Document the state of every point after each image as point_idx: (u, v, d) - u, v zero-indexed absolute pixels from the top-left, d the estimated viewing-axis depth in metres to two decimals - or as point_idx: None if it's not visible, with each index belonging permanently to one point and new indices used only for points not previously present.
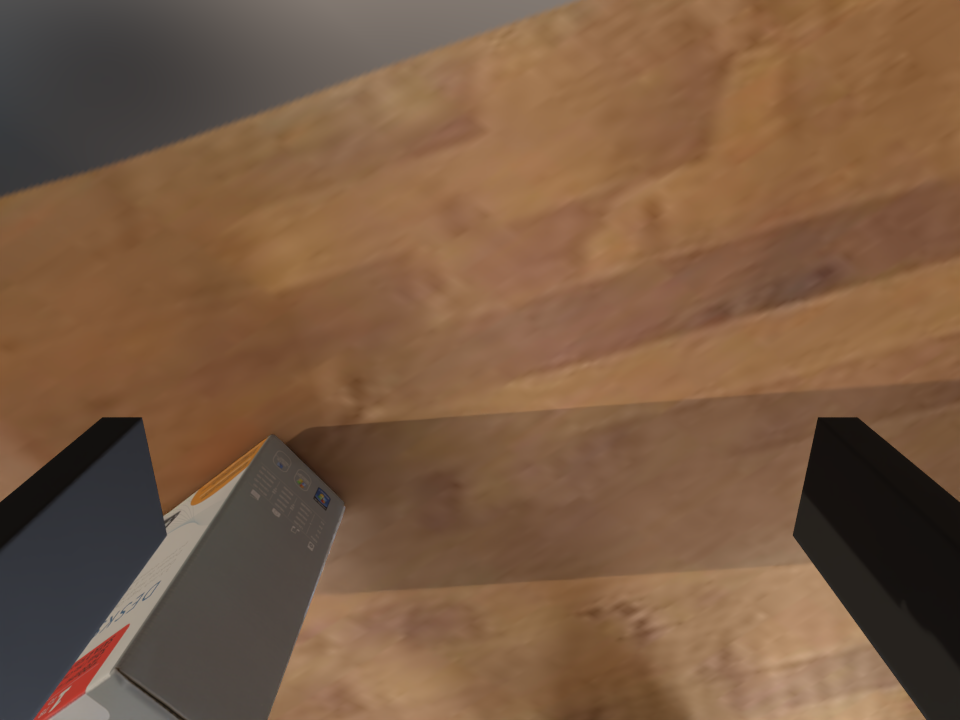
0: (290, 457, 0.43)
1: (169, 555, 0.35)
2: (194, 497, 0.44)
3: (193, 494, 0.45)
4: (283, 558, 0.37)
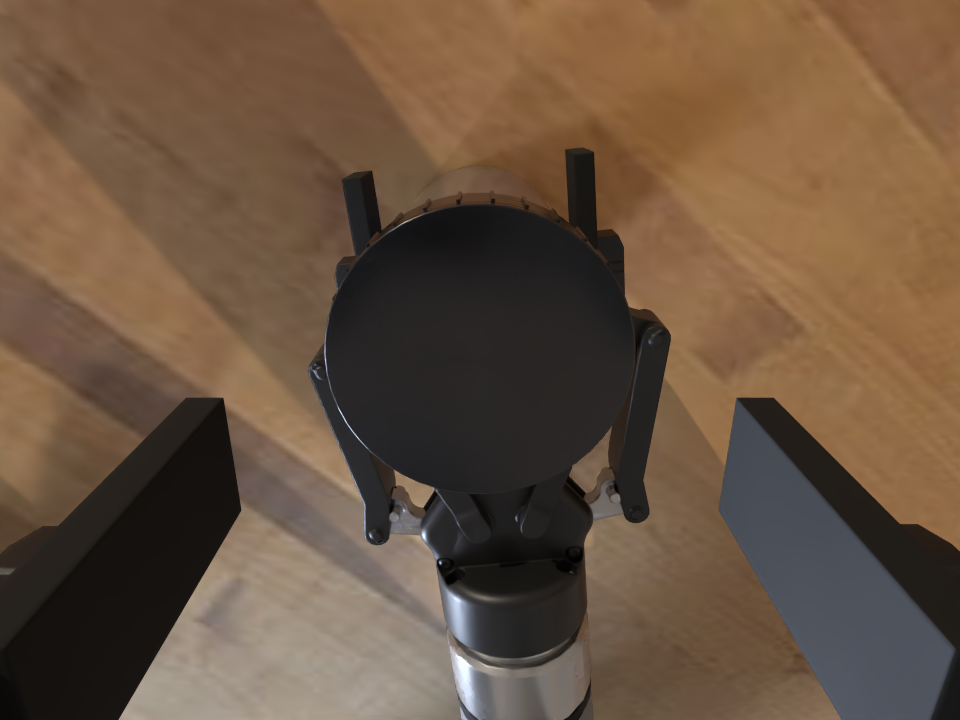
0: None
1: None
2: None
3: None
4: None
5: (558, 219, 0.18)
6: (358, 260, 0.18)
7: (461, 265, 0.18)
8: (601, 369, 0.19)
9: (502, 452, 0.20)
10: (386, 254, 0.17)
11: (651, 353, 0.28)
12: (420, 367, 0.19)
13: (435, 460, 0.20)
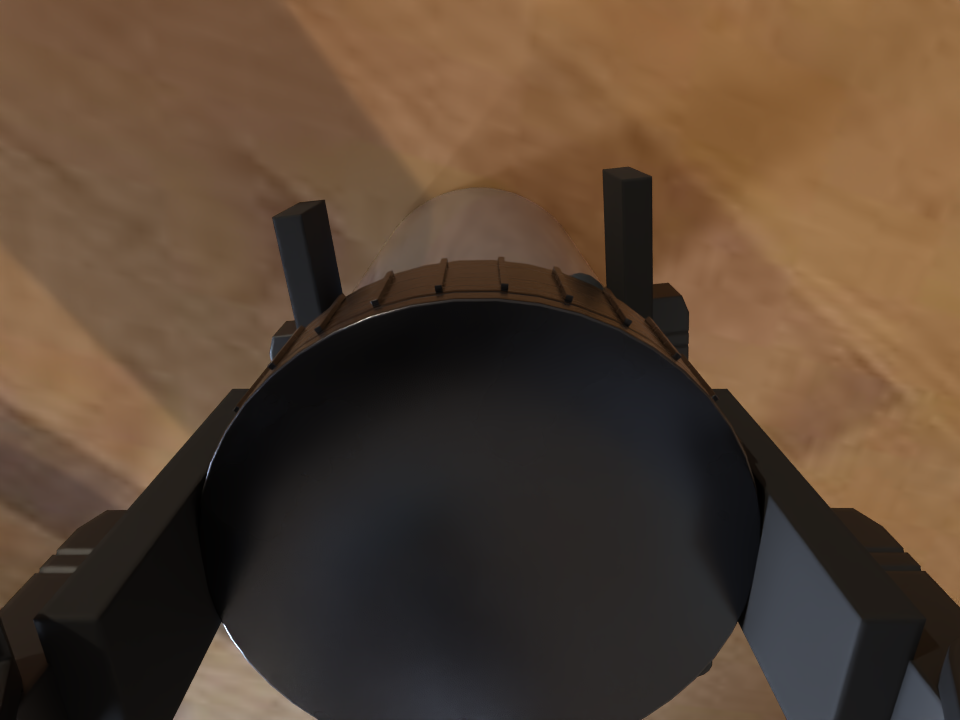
0: None
1: None
2: None
3: None
4: None
5: (627, 321, 0.09)
6: (250, 399, 0.09)
7: (444, 408, 0.09)
8: (697, 578, 0.10)
9: (518, 703, 0.11)
10: (302, 389, 0.09)
11: None
12: (373, 576, 0.10)
13: (403, 715, 0.12)
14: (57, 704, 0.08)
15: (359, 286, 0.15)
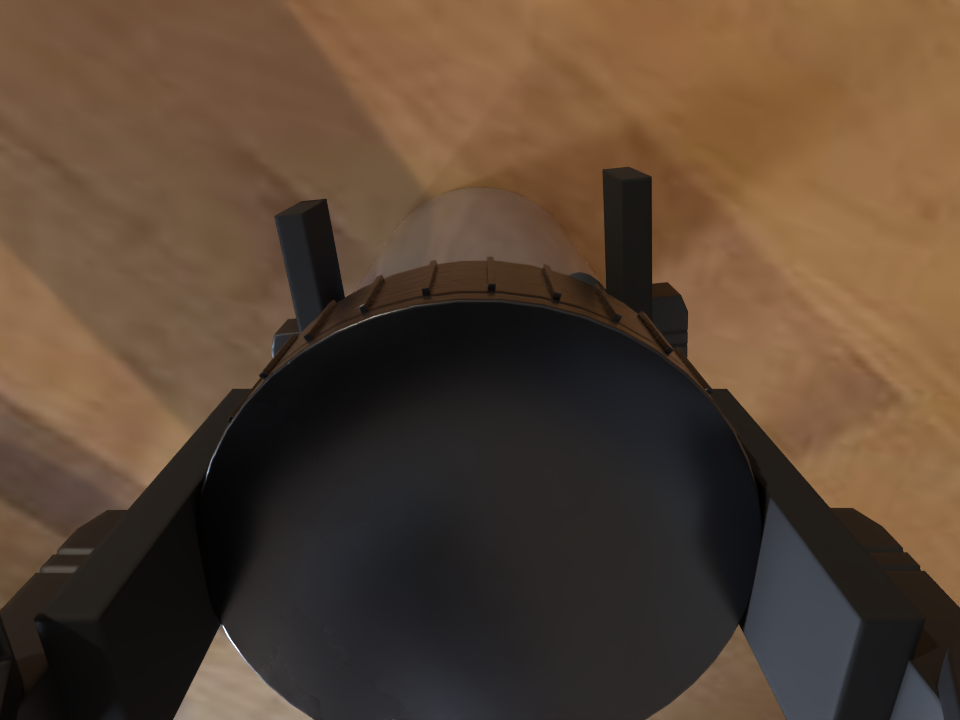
0: None
1: None
2: None
3: None
4: None
5: (261, 376, 0.10)
6: None
7: (299, 554, 0.10)
8: (563, 377, 0.09)
9: (669, 576, 0.10)
10: (260, 645, 0.11)
11: None
12: (461, 651, 0.11)
13: (640, 672, 0.11)
14: (58, 704, 0.08)
15: (361, 284, 0.15)
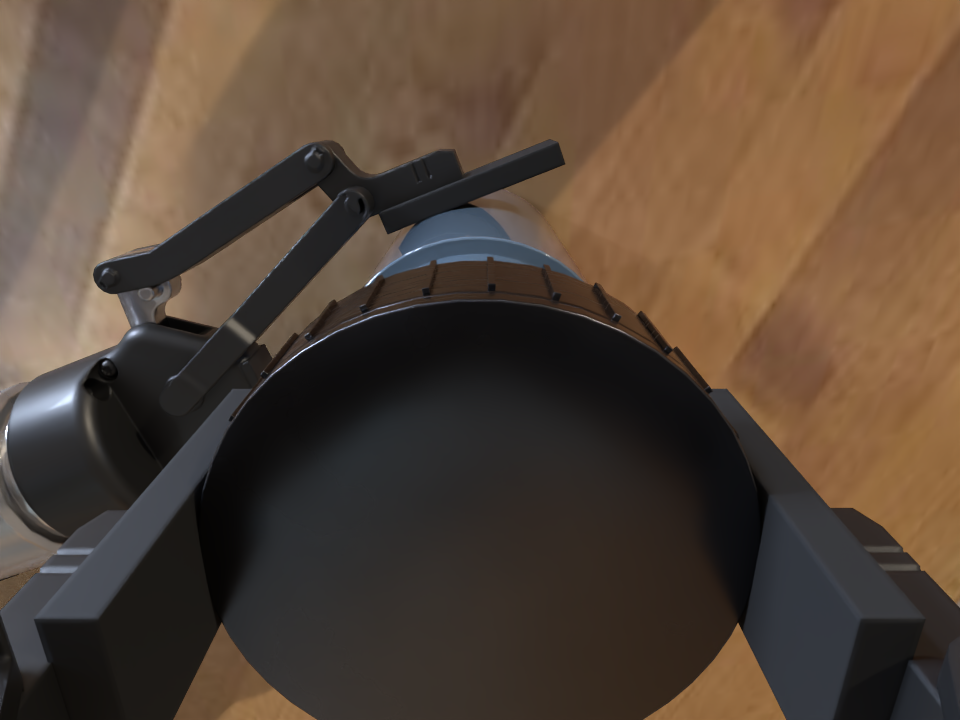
0: None
1: None
2: None
3: None
4: None
5: (261, 375, 0.10)
6: None
7: (300, 553, 0.10)
8: (562, 377, 0.09)
9: (668, 575, 0.10)
10: (261, 644, 0.11)
11: None
12: (461, 649, 0.11)
13: (639, 671, 0.11)
14: (58, 704, 0.08)
15: (543, 235, 0.21)
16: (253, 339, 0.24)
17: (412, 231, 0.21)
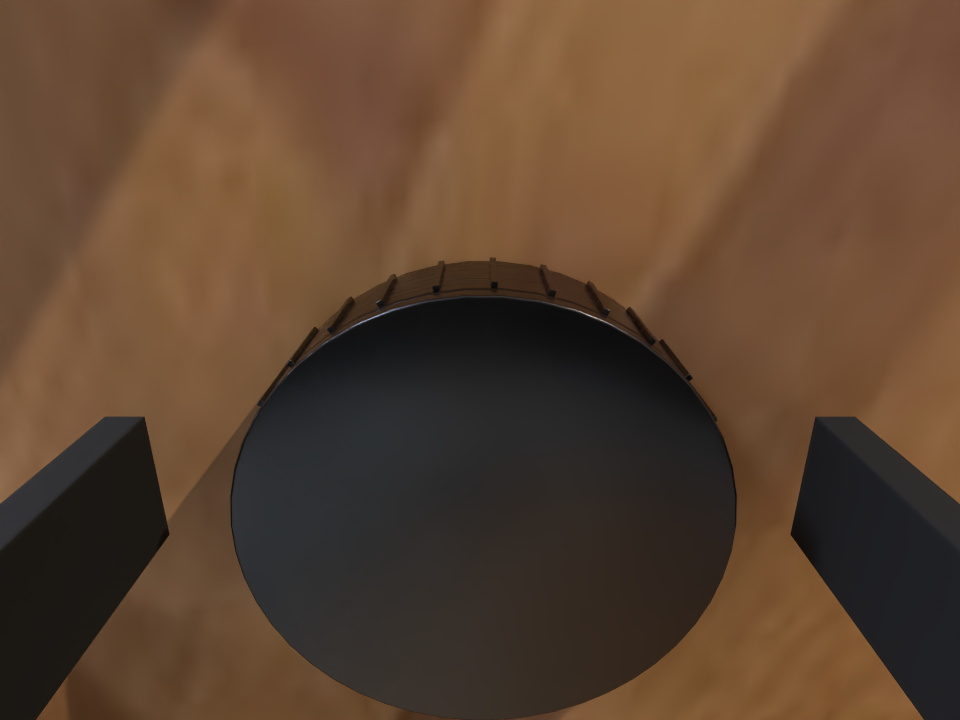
0: None
1: None
2: None
3: None
4: None
5: (288, 364, 0.11)
6: (287, 641, 0.12)
7: (321, 525, 0.11)
8: (557, 365, 0.10)
9: (654, 545, 0.12)
10: (285, 609, 0.12)
11: None
12: (467, 614, 0.12)
13: (628, 634, 0.12)
14: None
15: None
16: None
17: None
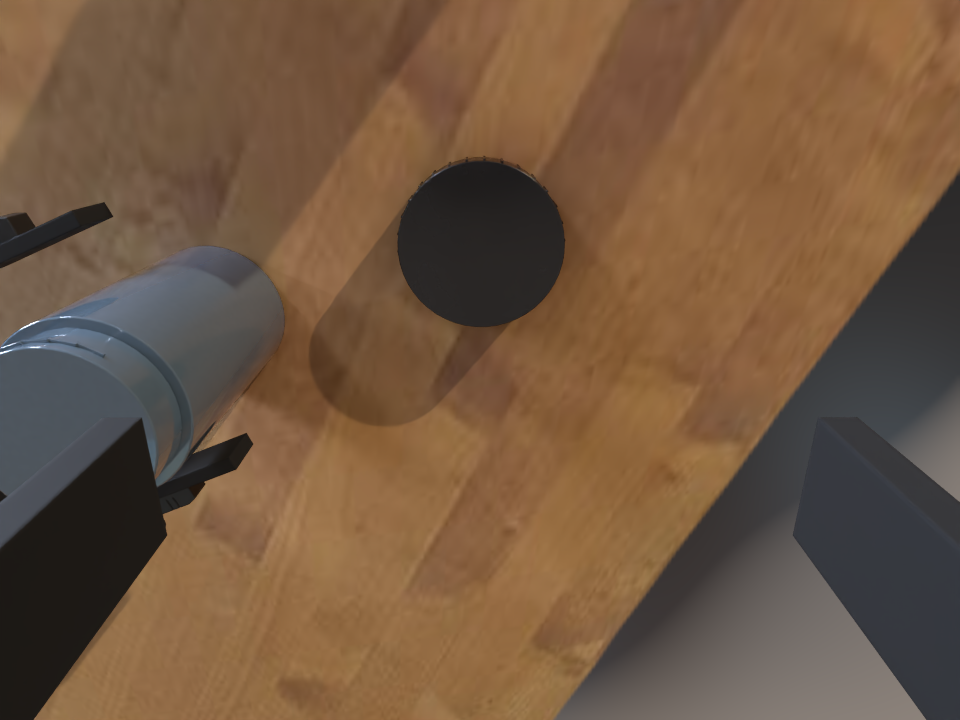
0: None
1: None
2: None
3: None
4: None
5: (418, 186, 0.34)
6: (412, 290, 0.35)
7: (427, 242, 0.34)
8: (503, 183, 0.33)
9: (537, 250, 0.35)
10: (413, 276, 0.35)
11: None
12: (475, 278, 0.35)
13: (531, 287, 0.35)
14: None
15: (168, 304, 0.28)
16: None
17: None
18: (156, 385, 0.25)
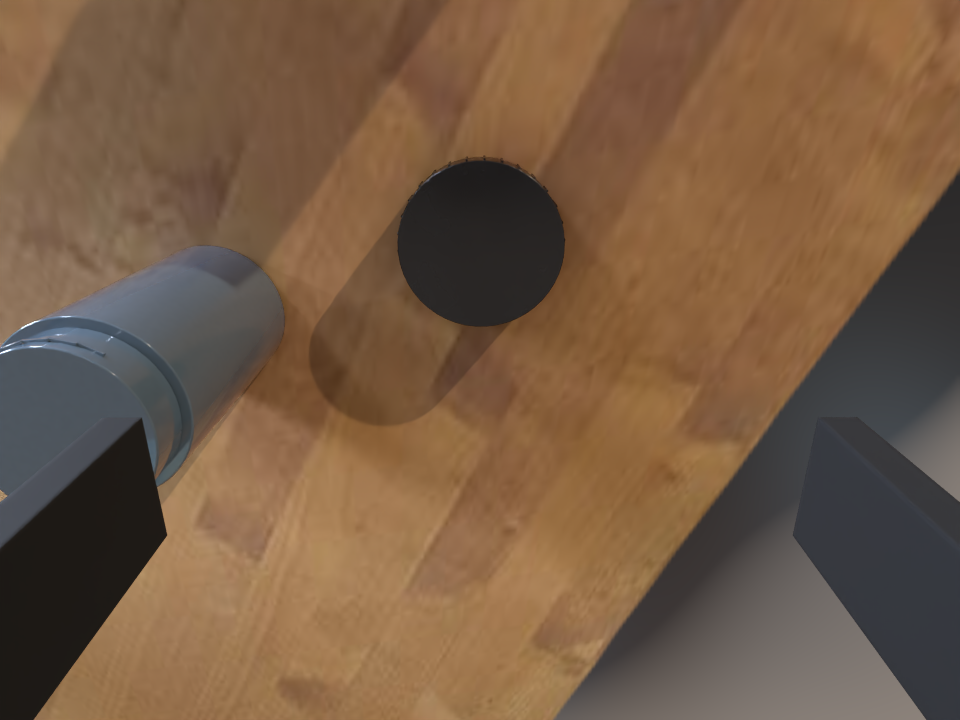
0: None
1: None
2: None
3: None
4: None
5: (419, 186, 0.34)
6: (412, 290, 0.35)
7: (427, 242, 0.34)
8: (503, 183, 0.33)
9: (537, 250, 0.35)
10: (413, 276, 0.35)
11: None
12: (475, 278, 0.35)
13: (531, 287, 0.35)
14: None
15: (168, 303, 0.28)
16: None
17: None
18: (156, 384, 0.25)
